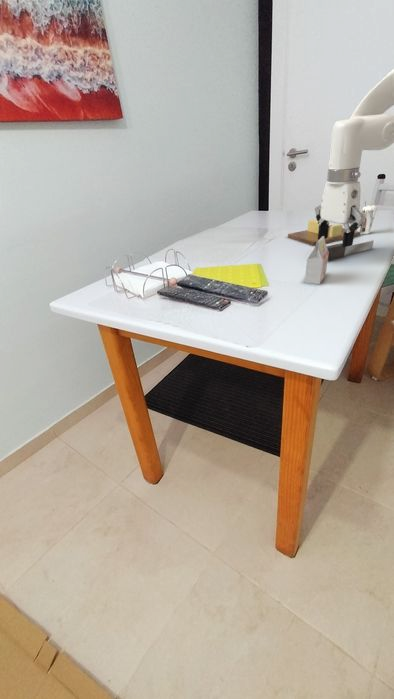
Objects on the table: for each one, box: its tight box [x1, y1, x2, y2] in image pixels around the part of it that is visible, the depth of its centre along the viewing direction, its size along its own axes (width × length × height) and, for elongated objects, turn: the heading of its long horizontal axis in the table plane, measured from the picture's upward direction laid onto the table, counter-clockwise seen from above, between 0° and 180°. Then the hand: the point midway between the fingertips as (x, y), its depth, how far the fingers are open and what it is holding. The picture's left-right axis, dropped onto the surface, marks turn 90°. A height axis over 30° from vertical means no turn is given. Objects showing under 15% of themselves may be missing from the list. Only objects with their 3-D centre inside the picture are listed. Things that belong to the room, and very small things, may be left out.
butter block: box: [307, 218, 330, 234], centre depth 120 cm, size 4×6×4 cm, turn 24°
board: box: [287, 224, 361, 247], centre depth 119 cm, size 20×14×1 cm
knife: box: [326, 240, 375, 261], centre depth 100 cm, size 21×2×4 cm, turn 114°
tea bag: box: [304, 236, 329, 285], centre depth 84 cm, size 4×7×10 cm, turn 151°
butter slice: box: [329, 223, 343, 237], centre depth 113 cm, size 4×1×4 cm, turn 114°
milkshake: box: [359, 200, 378, 235], centre depth 117 cm, size 4×5×10 cm
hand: (334, 242), depth 97 cm, fingers open, 9 cm apart
